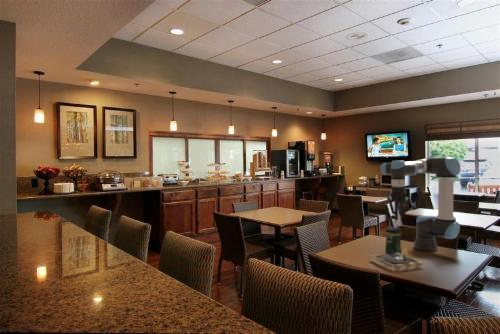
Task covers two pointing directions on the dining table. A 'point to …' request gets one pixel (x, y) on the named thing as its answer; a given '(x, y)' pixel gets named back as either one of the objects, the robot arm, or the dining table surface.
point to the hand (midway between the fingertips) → (398, 225)
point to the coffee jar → (393, 240)
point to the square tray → (396, 267)
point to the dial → (397, 257)
